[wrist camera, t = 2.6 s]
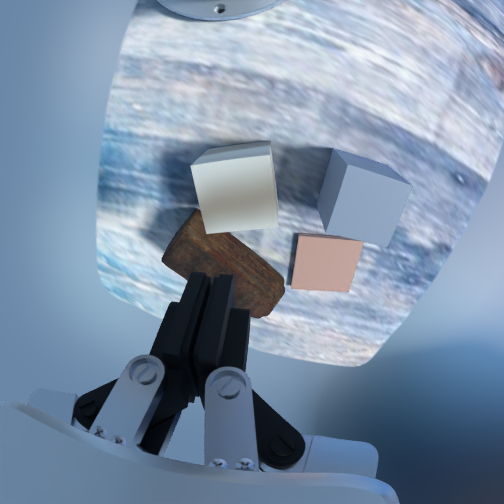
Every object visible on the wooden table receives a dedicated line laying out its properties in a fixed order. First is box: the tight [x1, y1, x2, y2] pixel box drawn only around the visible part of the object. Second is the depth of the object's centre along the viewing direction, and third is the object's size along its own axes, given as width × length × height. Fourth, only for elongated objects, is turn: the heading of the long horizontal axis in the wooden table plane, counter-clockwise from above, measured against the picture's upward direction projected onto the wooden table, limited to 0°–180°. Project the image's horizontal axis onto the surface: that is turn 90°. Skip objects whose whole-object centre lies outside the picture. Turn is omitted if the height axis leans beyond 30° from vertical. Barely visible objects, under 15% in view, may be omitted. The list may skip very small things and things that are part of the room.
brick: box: [162, 209, 285, 318], centre depth 24 cm, size 11×4×5 cm, turn 49°
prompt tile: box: [291, 233, 364, 292], centre depth 25 cm, size 6×6×1 cm
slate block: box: [317, 148, 413, 247], centre depth 19 cm, size 5×5×5 cm
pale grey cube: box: [191, 141, 278, 234], centre depth 20 cm, size 5×5×5 cm
